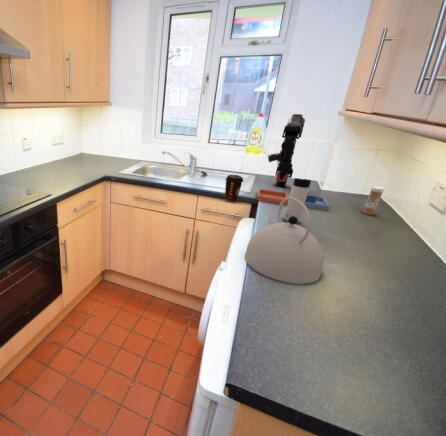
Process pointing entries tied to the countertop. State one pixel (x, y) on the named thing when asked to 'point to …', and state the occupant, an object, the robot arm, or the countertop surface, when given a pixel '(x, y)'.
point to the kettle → (286, 250)
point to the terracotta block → (279, 177)
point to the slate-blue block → (311, 198)
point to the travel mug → (299, 193)
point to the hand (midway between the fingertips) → (280, 178)
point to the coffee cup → (232, 187)
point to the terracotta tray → (272, 196)
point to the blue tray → (318, 204)
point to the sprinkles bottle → (373, 200)
